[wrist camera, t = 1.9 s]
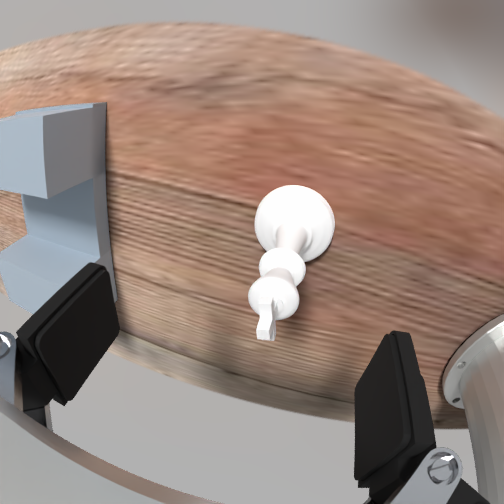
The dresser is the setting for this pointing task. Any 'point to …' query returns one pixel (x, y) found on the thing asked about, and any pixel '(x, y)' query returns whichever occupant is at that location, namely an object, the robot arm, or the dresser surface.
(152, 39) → the dresser surface
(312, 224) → the chess piece
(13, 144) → the slot block
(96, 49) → the dresser surface
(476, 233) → the dresser surface
